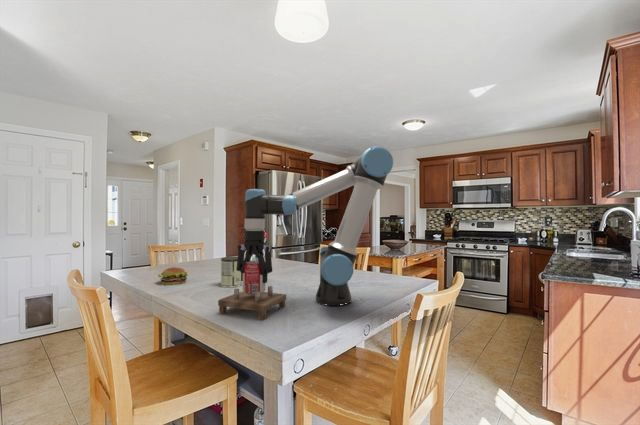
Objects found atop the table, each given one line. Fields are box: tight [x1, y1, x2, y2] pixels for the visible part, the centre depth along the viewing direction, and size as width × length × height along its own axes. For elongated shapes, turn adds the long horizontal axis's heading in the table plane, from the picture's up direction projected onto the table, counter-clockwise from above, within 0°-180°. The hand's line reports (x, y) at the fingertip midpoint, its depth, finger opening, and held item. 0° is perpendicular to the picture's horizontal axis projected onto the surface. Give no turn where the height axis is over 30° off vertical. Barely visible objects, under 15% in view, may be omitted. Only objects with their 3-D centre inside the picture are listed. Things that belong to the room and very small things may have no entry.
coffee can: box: [220, 256, 243, 288], centre depth 159 cm, size 10×10×14 cm
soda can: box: [244, 260, 262, 295], centre depth 117 cm, size 7×7×12 cm
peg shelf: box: [217, 285, 287, 321], centre depth 117 cm, size 19×17×8 cm
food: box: [157, 266, 188, 286], centre depth 164 cm, size 14×14×8 cm
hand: (253, 290), depth 117 cm, fingers closed on soda can, 7 cm apart
